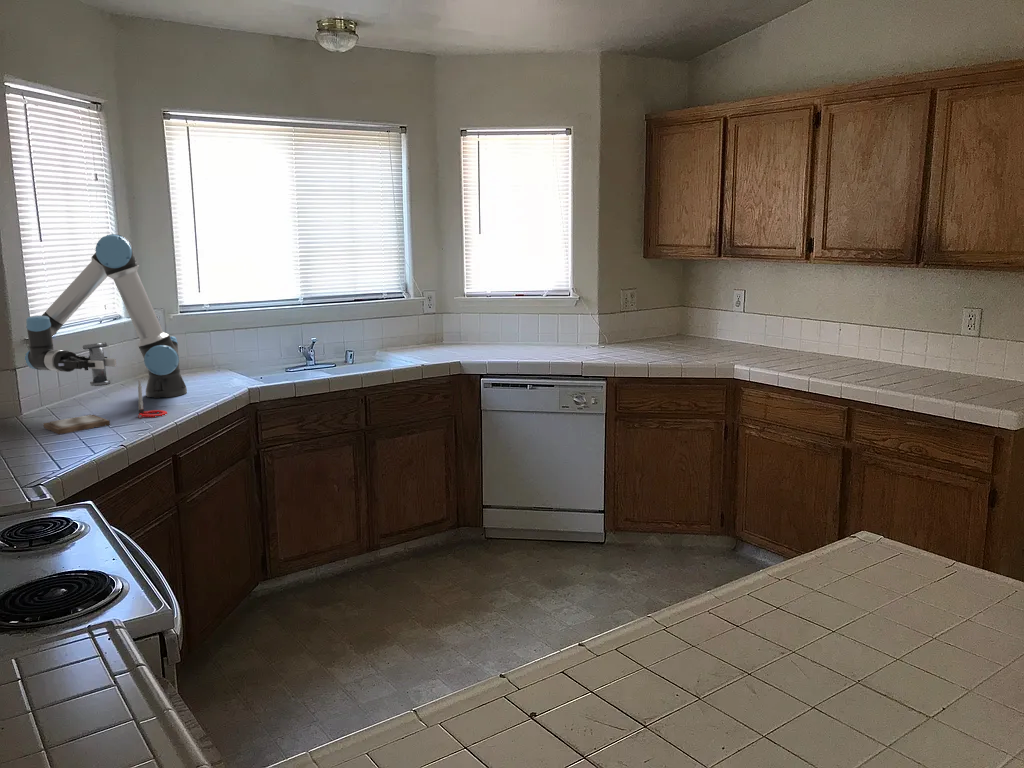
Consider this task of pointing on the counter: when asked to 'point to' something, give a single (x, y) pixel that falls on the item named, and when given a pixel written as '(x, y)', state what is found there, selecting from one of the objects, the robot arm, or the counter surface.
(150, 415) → the tow hook
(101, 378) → the metal mooring bollard
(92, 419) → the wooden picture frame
